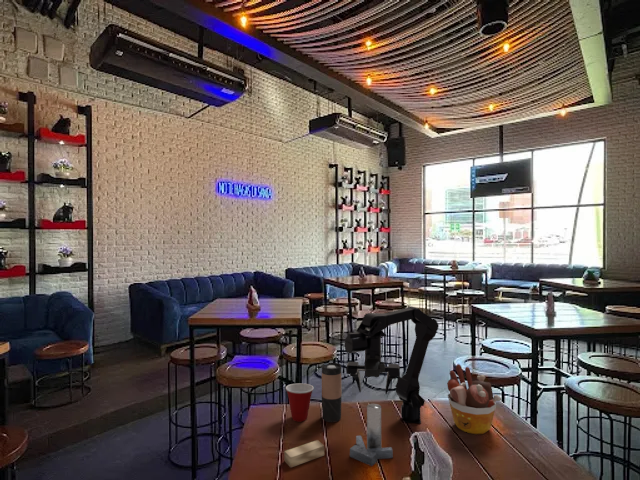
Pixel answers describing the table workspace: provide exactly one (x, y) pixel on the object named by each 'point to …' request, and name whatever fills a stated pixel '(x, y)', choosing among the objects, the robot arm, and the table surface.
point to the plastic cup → (299, 400)
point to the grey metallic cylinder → (373, 426)
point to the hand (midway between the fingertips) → (373, 392)
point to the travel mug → (331, 392)
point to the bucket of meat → (471, 402)
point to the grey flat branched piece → (369, 452)
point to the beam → (304, 453)
